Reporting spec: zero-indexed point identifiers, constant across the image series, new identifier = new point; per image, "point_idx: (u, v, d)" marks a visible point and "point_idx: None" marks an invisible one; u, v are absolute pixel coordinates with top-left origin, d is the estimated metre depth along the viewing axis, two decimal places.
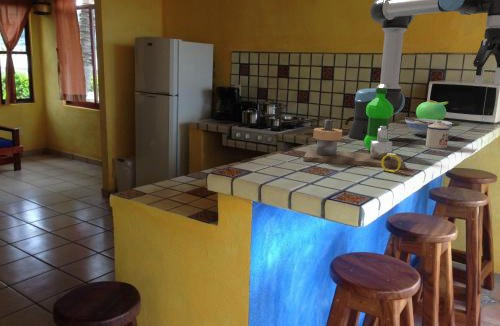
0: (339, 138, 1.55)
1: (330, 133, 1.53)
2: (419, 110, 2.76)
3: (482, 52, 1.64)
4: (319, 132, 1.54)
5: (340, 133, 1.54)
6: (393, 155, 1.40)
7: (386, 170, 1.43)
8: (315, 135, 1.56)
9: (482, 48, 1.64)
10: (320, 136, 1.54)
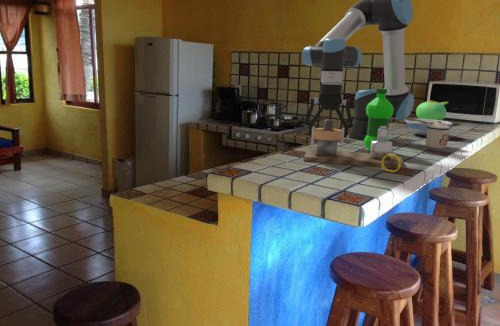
0: (339, 138, 1.55)
1: (330, 133, 1.53)
2: (419, 110, 2.76)
3: (308, 111, 1.57)
4: (319, 132, 1.54)
5: (340, 133, 1.54)
6: (393, 155, 1.40)
7: (386, 170, 1.43)
8: (315, 135, 1.56)
9: (310, 107, 1.57)
10: (320, 136, 1.54)
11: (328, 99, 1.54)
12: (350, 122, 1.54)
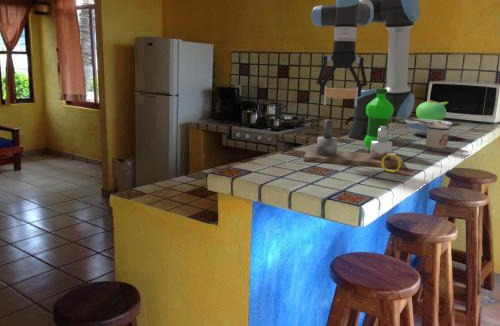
0: (353, 97, 1.51)
1: (343, 91, 1.49)
2: (419, 110, 2.76)
3: (321, 70, 1.53)
4: (332, 90, 1.50)
5: (354, 91, 1.50)
6: (393, 155, 1.40)
7: (386, 170, 1.43)
8: (328, 94, 1.52)
9: None
10: (333, 94, 1.50)
11: (341, 56, 1.50)
12: (364, 80, 1.50)
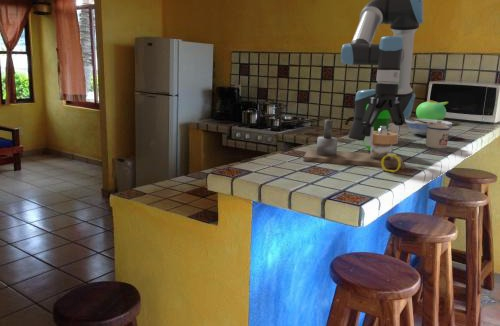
0: None
1: (395, 136, 1.50)
2: (419, 110, 2.76)
3: (369, 111, 1.47)
4: (386, 137, 1.49)
5: None
6: (393, 155, 1.40)
7: (386, 170, 1.43)
8: (380, 140, 1.49)
9: (370, 106, 1.48)
10: (388, 140, 1.49)
11: (387, 100, 1.50)
12: (403, 118, 1.56)
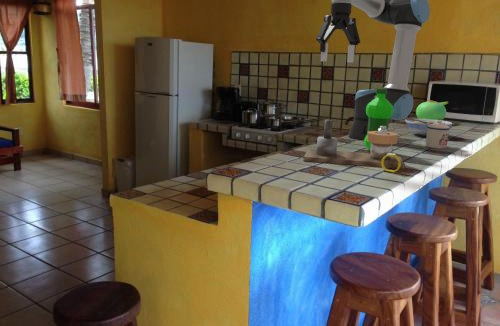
0: None
1: (395, 136, 1.50)
2: (419, 110, 2.76)
3: (324, 27, 1.58)
4: (386, 137, 1.49)
5: None
6: (393, 155, 1.40)
7: (386, 170, 1.43)
8: (380, 140, 1.49)
9: (324, 23, 1.59)
10: (388, 140, 1.49)
11: None
12: (358, 39, 1.67)
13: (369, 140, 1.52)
